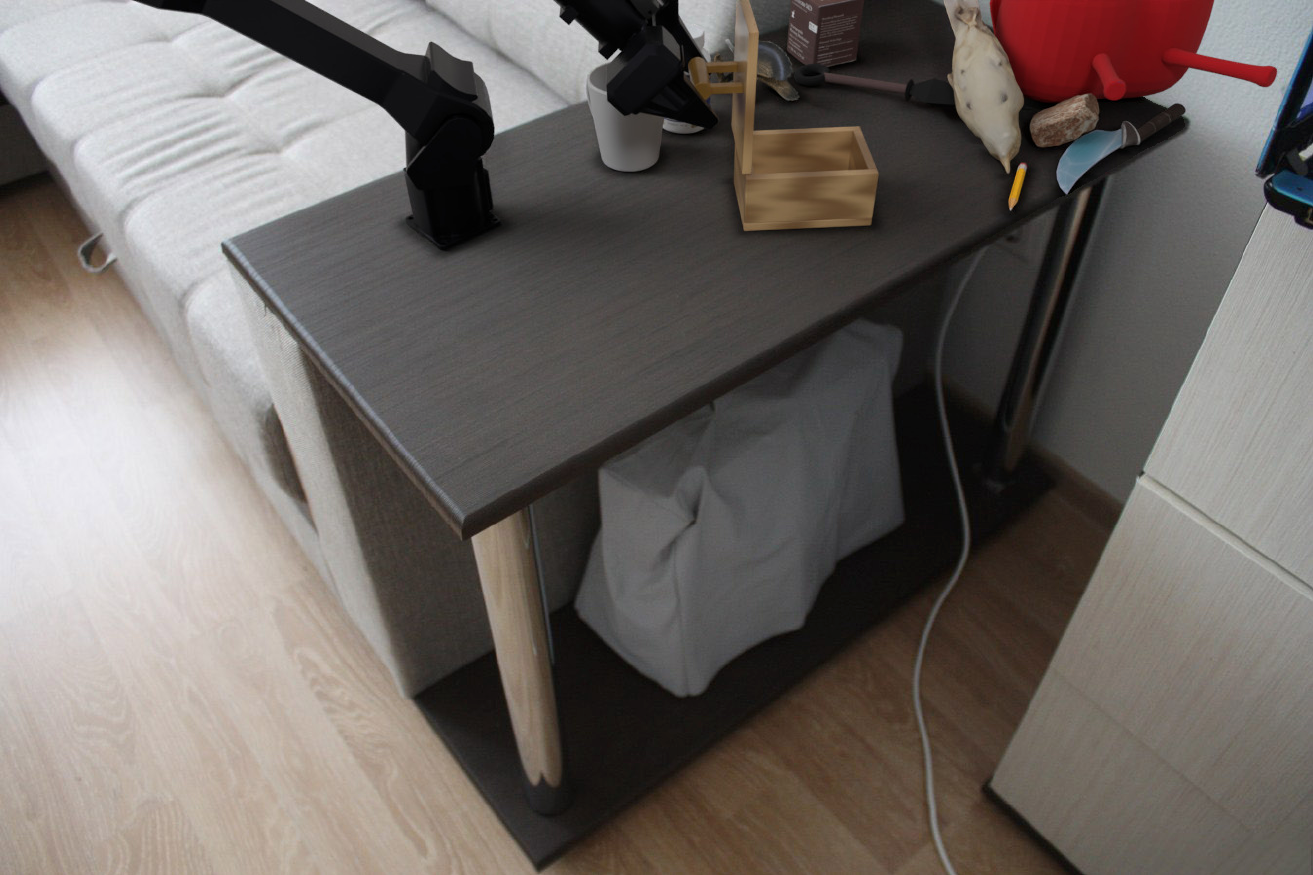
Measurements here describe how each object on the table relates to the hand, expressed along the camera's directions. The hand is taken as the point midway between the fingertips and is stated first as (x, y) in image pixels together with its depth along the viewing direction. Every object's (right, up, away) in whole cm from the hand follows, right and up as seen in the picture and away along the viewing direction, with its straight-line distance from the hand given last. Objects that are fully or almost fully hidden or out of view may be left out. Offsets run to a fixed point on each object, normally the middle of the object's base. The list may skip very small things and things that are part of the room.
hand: (711, 99), depth 88 cm
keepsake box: (+9, -7, +8) cm, 14 cm away
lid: (+3, +1, -1) cm, 3 cm away
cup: (-8, -1, +15) cm, 17 cm away
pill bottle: (-2, +4, +19) cm, 20 cm away
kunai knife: (+32, 0, +18) cm, 37 cm away
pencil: (+29, -5, +8) cm, 30 cm away
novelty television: (+38, +21, +29) cm, 52 cm away
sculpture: (+26, +8, +12) cm, 30 cm away
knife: (+38, +1, +15) cm, 41 cm away
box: (+14, +15, +30) cm, 37 cm away
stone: (+38, +1, +14) cm, 41 cm away
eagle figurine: (+6, +8, +24) cm, 26 cm away
